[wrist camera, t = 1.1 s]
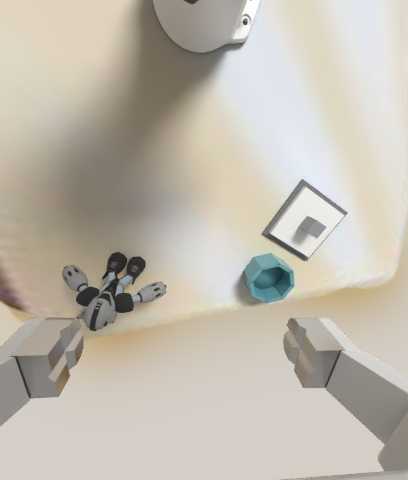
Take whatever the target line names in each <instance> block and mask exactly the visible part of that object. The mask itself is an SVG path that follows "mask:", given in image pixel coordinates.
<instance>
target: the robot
mask: <svg viewBox="0 0 408 480" xmlns="http://www.w3.org/2000/svg"><path fill="white" fill-rule="evenodd" d="M126 263H127V259H126V257H125V256H124V255H123V254H121V253H119V252H117V253H114V254H112V255H111V256H110V258H109V260H108V266H107V272H106V273H105V275H104V276H103V277H102V279H104V278H106V277H107V276H108V278H107V281H106V282H105V284H104V285H103V287H102V288H101V289H100V290H98V289H97V288H94V287H88V280H87V278H86V276H85V274H84V273H83V272H82V271H81V270H80V269H79V268H78V267H76V266H74V265H71V266H68V267H67V266H66V267H65V268H64V270H63V271H62V276H63V279H64V280H65V282H66V283H67V285H68V286H69V287H70V288H71V289H73V290H75V291H77V292H80V293H79V294H78V296H77V298H76V301H77V303H78V304H80V305H82V306H84V307H83V308H82V310H81V313H80V314H79V315H78V317H77V319H80V318H81V319H84V321H85V323H86V326H87V327H88V328H90V330H92V331H97V330H98V329H102V328H103V327H104V326H106V325H107V324H109V323H114V321H115V318H116V314H117V312H119V313H125V312H130V311H132V310H133V307H134V304H133V303H134V302H141V303H147V302H150V301H153V300H155V299H157V298H159V297H161V296H163V295H164V294H165V293H166V285H164V284H163V283H162V282H156V283H152V284H150V285H147V286H146V287H144V288H142V289H141V290H140V291H139V292H138V293H137V295H135V296H131V295H130V294H129V293H123V292H124V289H125V287H126V286H127V285H128V284H129V283H130V282H131V281H132V280H133V283H132V285H133V284H134V282H135V279H136V278H137V277H138V276H139V275H140V274H141V272H142V271H143V270H144V268H145V265H146V264H145V261H144V260H143V259H142V258H141V257H133V258H131V259H130V261H129V263H128V266H127V275H125V276H124V277H122V278H121V279H118V278H117V274H118V273H120V272H121V271H122V270H123V269H124V268H125V265H126ZM115 276H116V278H115Z"/></svg>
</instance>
